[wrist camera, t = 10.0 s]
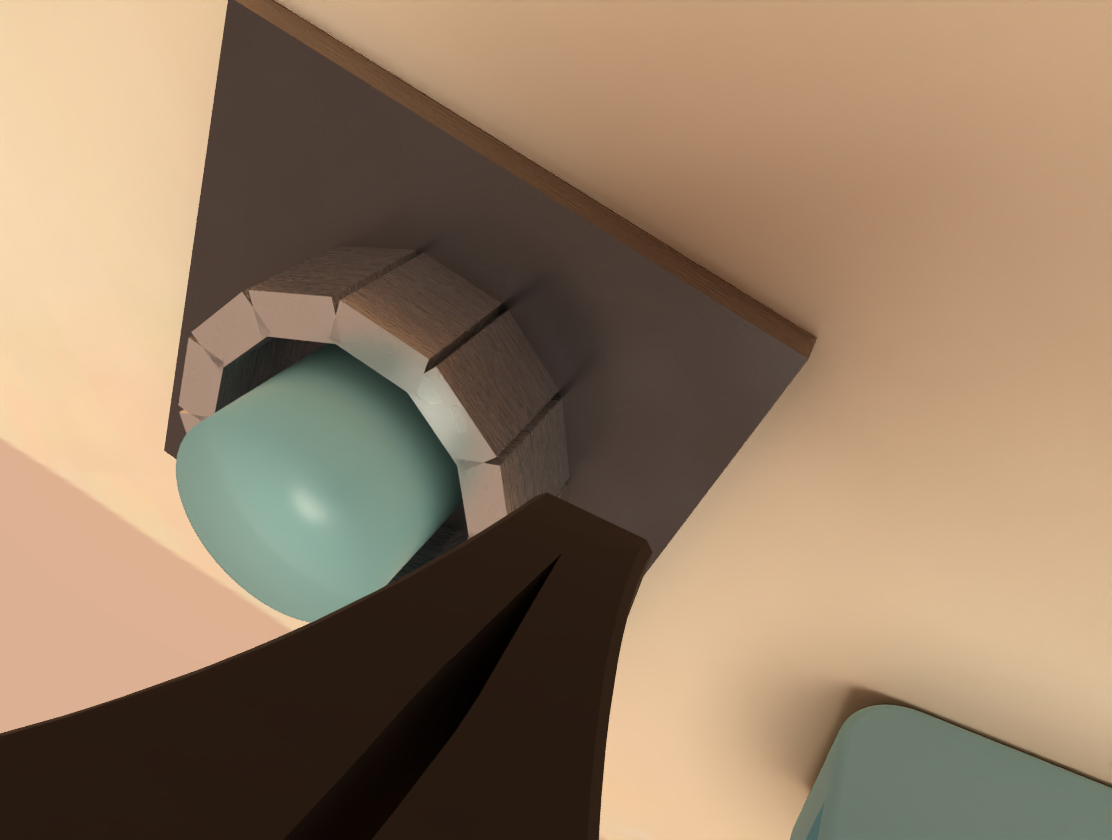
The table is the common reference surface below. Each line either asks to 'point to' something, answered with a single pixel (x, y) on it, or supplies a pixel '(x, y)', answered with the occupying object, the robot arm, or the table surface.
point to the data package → (943, 787)
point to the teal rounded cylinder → (316, 484)
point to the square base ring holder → (460, 293)
